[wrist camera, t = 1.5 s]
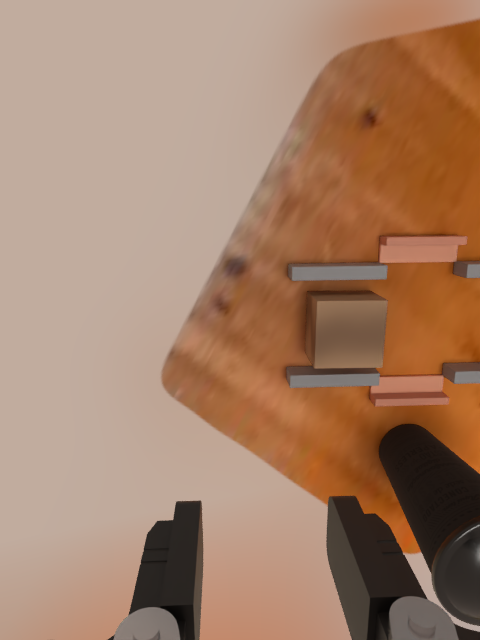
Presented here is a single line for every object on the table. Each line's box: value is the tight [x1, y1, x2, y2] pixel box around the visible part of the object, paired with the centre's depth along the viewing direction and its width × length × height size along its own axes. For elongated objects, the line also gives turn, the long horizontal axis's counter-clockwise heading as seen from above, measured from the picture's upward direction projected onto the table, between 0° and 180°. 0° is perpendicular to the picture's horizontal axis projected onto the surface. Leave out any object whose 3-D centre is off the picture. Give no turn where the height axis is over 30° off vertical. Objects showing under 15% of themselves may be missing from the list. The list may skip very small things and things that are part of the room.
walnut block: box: [305, 291, 388, 369], centre depth 34 cm, size 5×5×4 cm
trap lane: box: [286, 235, 480, 406], centre depth 35 cm, size 13×20×2 cm
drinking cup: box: [379, 424, 480, 626], centre depth 29 cm, size 8×8×20 cm
